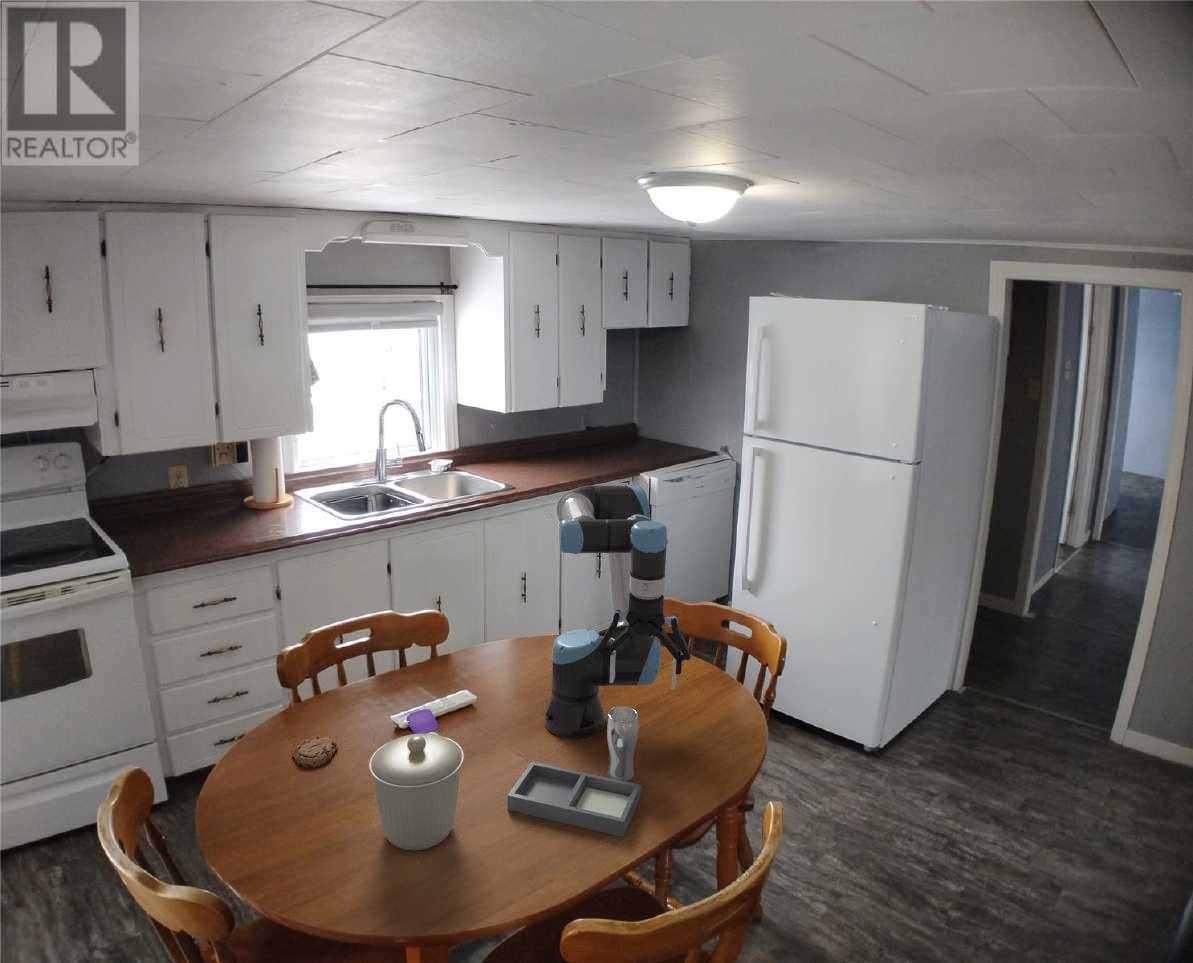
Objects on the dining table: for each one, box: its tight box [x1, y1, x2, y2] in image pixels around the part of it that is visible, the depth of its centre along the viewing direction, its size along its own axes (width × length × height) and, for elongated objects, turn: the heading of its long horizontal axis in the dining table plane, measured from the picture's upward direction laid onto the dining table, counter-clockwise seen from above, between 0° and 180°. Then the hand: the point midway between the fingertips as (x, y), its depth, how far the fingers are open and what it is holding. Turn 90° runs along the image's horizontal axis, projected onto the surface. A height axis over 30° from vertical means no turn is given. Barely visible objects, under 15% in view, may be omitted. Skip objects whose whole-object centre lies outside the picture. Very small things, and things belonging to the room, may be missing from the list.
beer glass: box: [606, 705, 639, 782], centre depth 179 cm, size 7×7×15 cm
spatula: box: [406, 708, 439, 735], centre depth 192 cm, size 24×7×2 cm, turn 33°
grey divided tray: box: [507, 761, 641, 838], centre depth 169 cm, size 25×13×4 cm, turn 72°
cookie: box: [291, 735, 339, 769], centre depth 185 cm, size 10×11×3 cm
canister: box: [368, 733, 465, 851], centre depth 157 cm, size 18×18×21 cm
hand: (642, 683), depth 178 cm, fingers open, 13 cm apart
